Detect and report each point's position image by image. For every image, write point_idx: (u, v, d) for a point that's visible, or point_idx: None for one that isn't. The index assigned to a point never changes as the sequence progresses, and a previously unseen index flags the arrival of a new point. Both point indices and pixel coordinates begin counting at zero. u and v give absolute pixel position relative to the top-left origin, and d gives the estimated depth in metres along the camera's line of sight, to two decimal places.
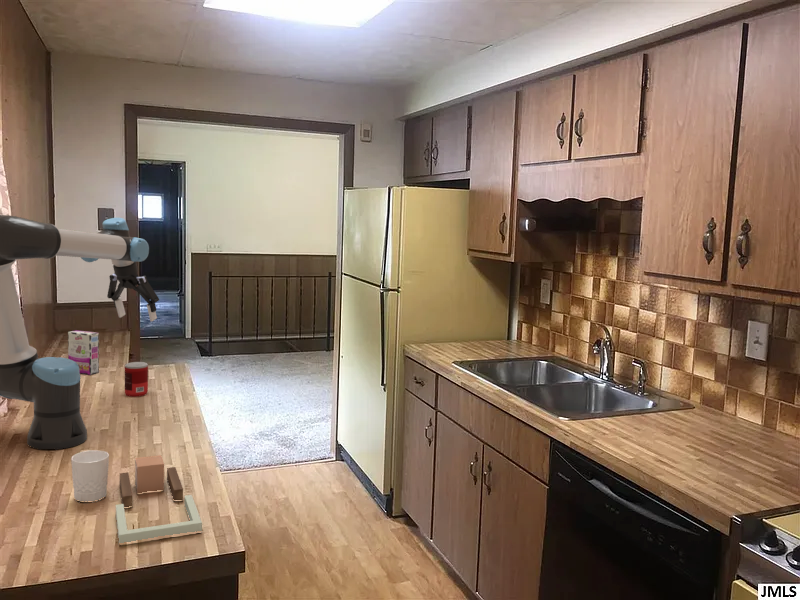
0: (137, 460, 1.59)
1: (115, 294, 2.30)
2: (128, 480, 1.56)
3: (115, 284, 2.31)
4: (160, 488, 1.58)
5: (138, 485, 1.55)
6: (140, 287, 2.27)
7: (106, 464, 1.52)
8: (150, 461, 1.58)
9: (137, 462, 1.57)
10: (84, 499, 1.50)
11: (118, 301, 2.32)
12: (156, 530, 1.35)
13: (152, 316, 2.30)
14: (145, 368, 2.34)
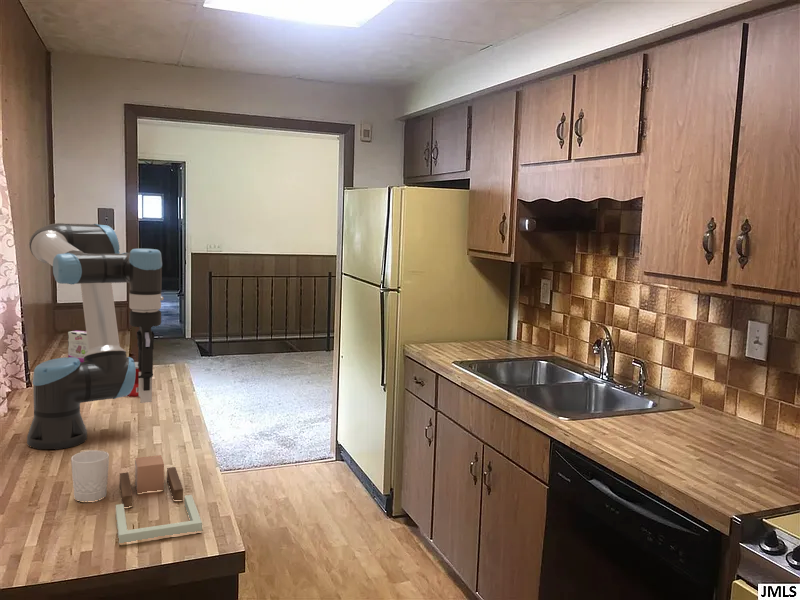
0: (137, 460, 1.59)
1: (139, 360, 1.70)
2: (128, 480, 1.56)
3: None
4: (160, 488, 1.58)
5: (138, 485, 1.55)
6: None
7: (106, 464, 1.52)
8: (150, 461, 1.58)
9: (137, 462, 1.57)
10: (84, 499, 1.50)
11: None
12: (156, 530, 1.35)
13: (143, 396, 1.65)
14: None
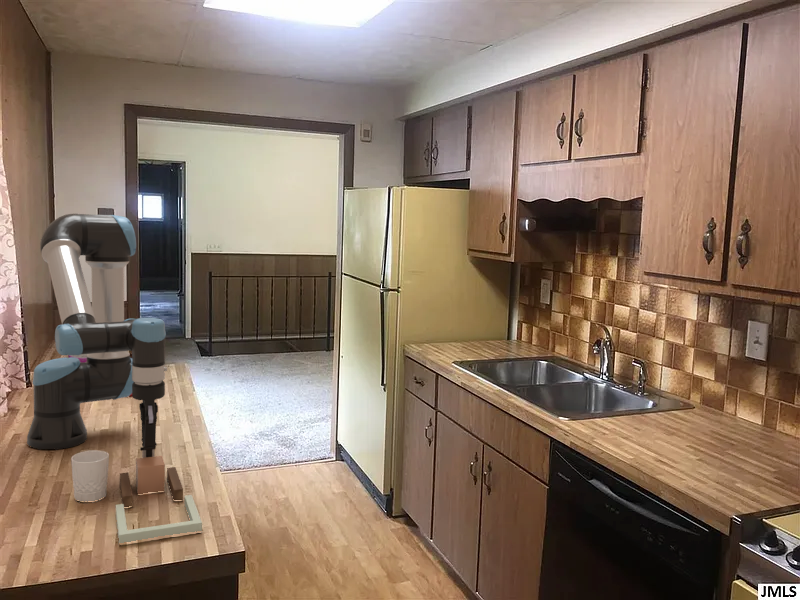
0: (138, 461, 1.58)
1: (142, 434, 1.63)
2: (128, 480, 1.56)
3: None
4: (161, 489, 1.57)
5: (139, 486, 1.55)
6: None
7: (106, 464, 1.52)
8: (151, 462, 1.58)
9: (138, 463, 1.57)
10: (84, 499, 1.50)
11: None
12: (156, 530, 1.35)
13: None
14: None
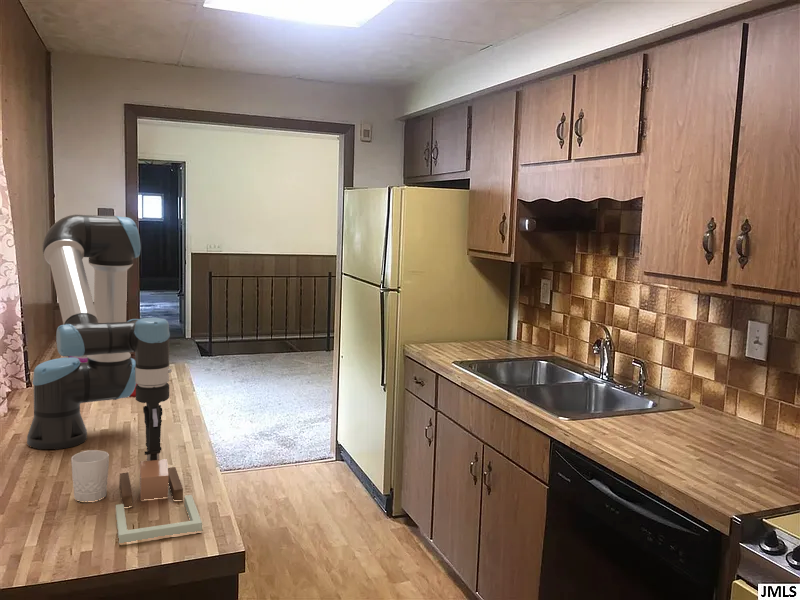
0: (141, 466, 1.53)
1: (147, 439, 1.58)
2: (128, 480, 1.56)
3: None
4: (164, 496, 1.54)
5: (141, 494, 1.51)
6: None
7: (106, 464, 1.52)
8: (155, 469, 1.53)
9: (141, 470, 1.52)
10: (84, 499, 1.50)
11: None
12: (156, 530, 1.35)
13: None
14: None
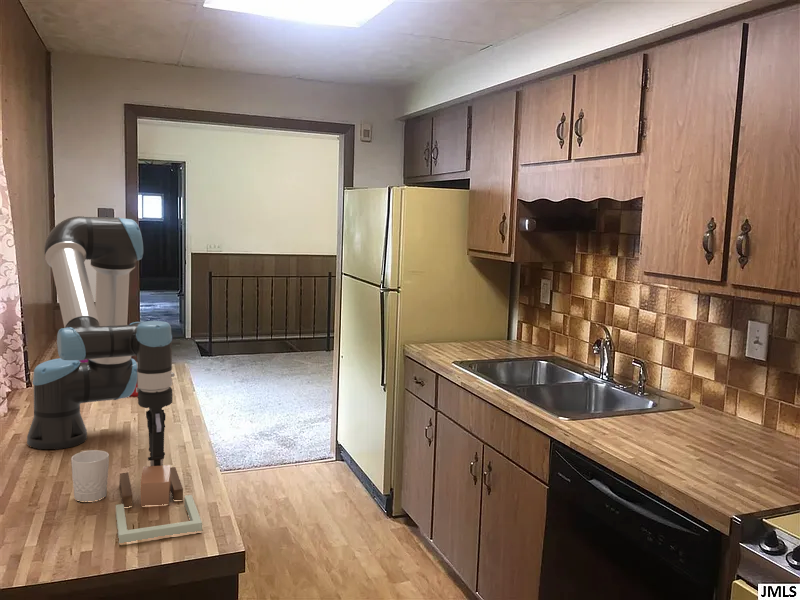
0: (143, 471, 1.50)
1: (150, 444, 1.55)
2: (128, 480, 1.56)
3: None
4: (165, 503, 1.50)
5: (142, 500, 1.48)
6: None
7: (106, 464, 1.52)
8: (156, 475, 1.50)
9: (142, 475, 1.49)
10: (84, 499, 1.50)
11: None
12: (156, 530, 1.35)
13: None
14: None
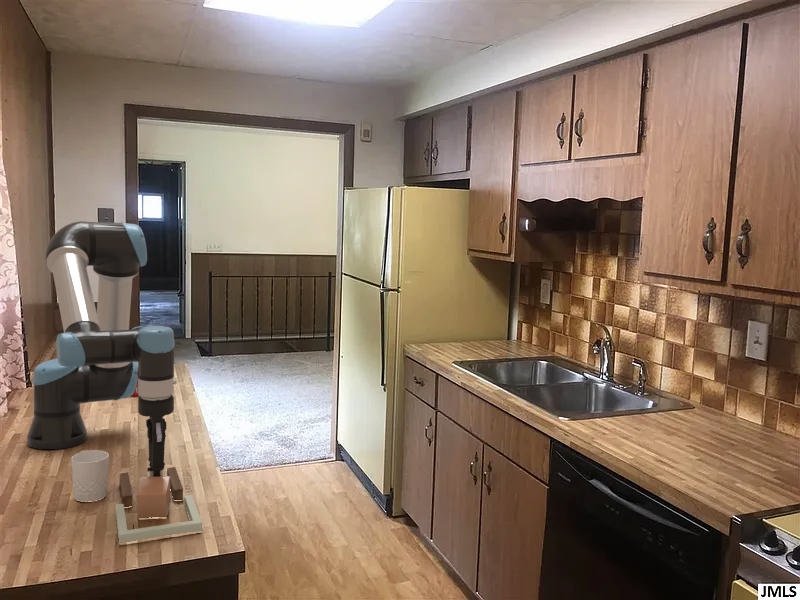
0: (141, 482, 1.44)
1: (149, 454, 1.49)
2: (128, 480, 1.56)
3: None
4: (163, 516, 1.44)
5: (138, 512, 1.42)
6: None
7: (106, 464, 1.52)
8: (154, 487, 1.43)
9: (140, 486, 1.43)
10: (84, 499, 1.50)
11: None
12: (156, 530, 1.35)
13: None
14: None
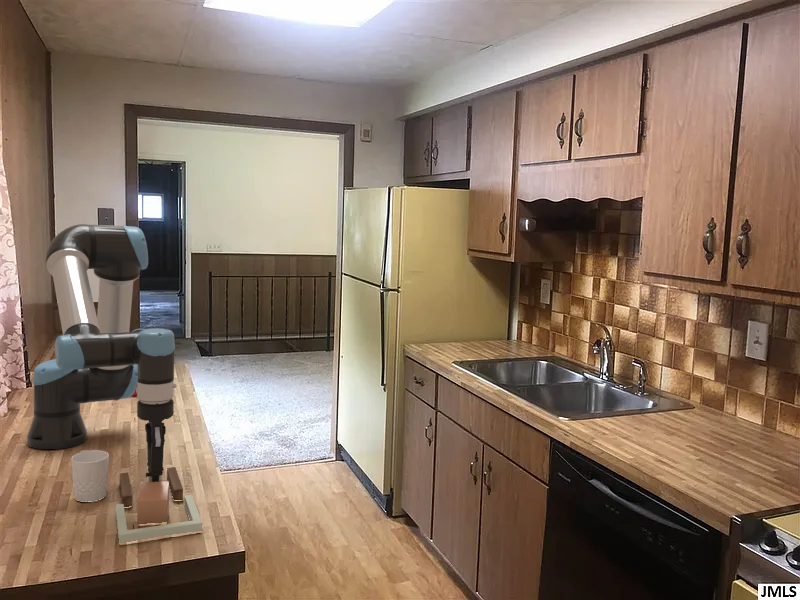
0: (140, 488, 1.41)
1: (148, 458, 1.46)
2: (128, 480, 1.56)
3: None
4: None
5: (139, 518, 1.39)
6: None
7: (106, 464, 1.52)
8: (154, 492, 1.41)
9: (139, 492, 1.40)
10: (84, 499, 1.50)
11: None
12: (156, 530, 1.35)
13: None
14: None
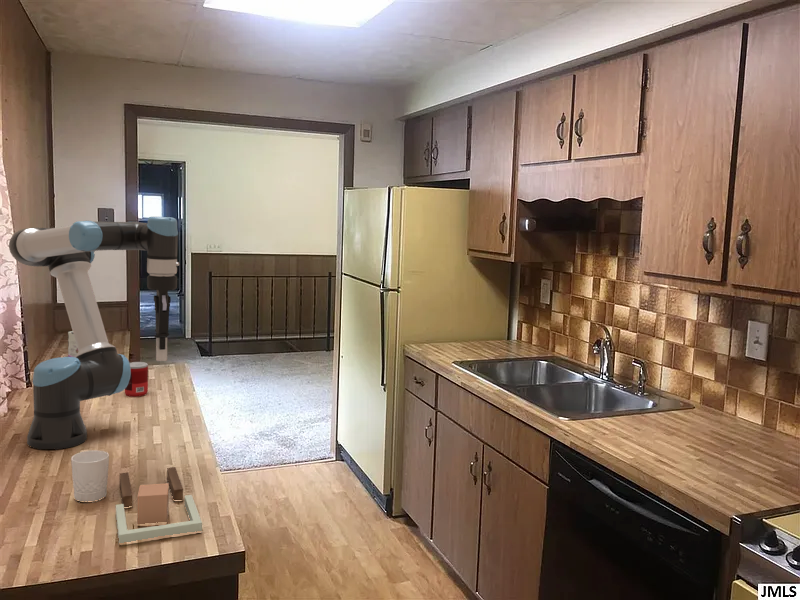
0: (140, 488, 1.43)
1: (156, 324, 1.78)
2: (128, 480, 1.56)
3: None
4: (163, 521, 1.42)
5: (138, 517, 1.40)
6: None
7: (106, 464, 1.52)
8: (154, 490, 1.43)
9: (139, 490, 1.42)
10: (84, 499, 1.50)
11: None
12: (156, 530, 1.35)
13: (159, 355, 1.78)
14: (145, 368, 2.34)
